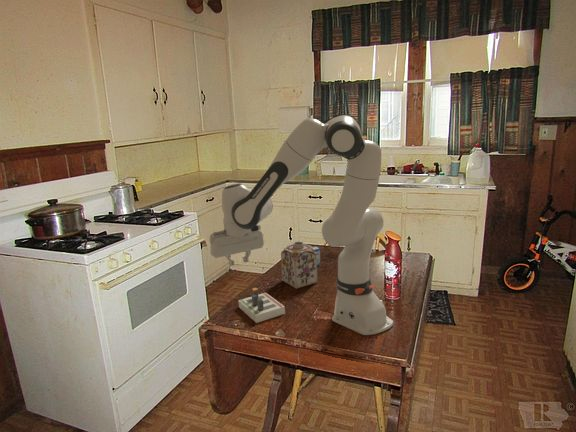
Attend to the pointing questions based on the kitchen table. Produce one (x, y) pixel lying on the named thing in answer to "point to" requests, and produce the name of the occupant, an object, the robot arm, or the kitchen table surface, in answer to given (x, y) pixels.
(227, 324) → the kitchen table surface
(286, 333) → the kitchen table surface
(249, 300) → the breaker box
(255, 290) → the breaker handle
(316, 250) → the medicine box
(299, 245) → the decorative jar
